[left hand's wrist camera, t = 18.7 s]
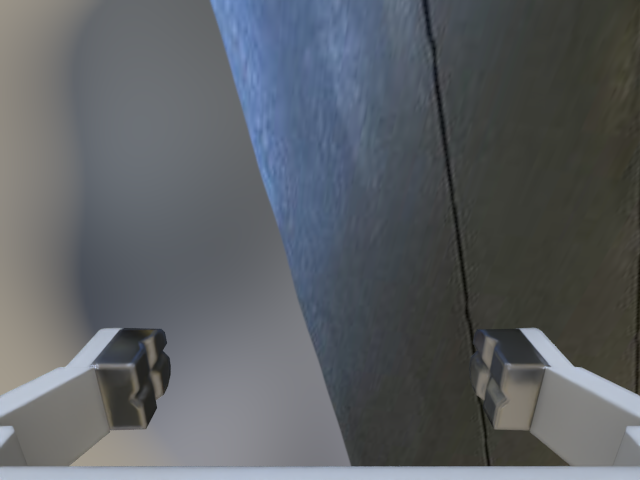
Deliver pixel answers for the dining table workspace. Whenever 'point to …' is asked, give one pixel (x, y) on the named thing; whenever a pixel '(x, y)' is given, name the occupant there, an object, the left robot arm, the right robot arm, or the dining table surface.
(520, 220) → the dining table surface
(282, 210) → the dining table surface
